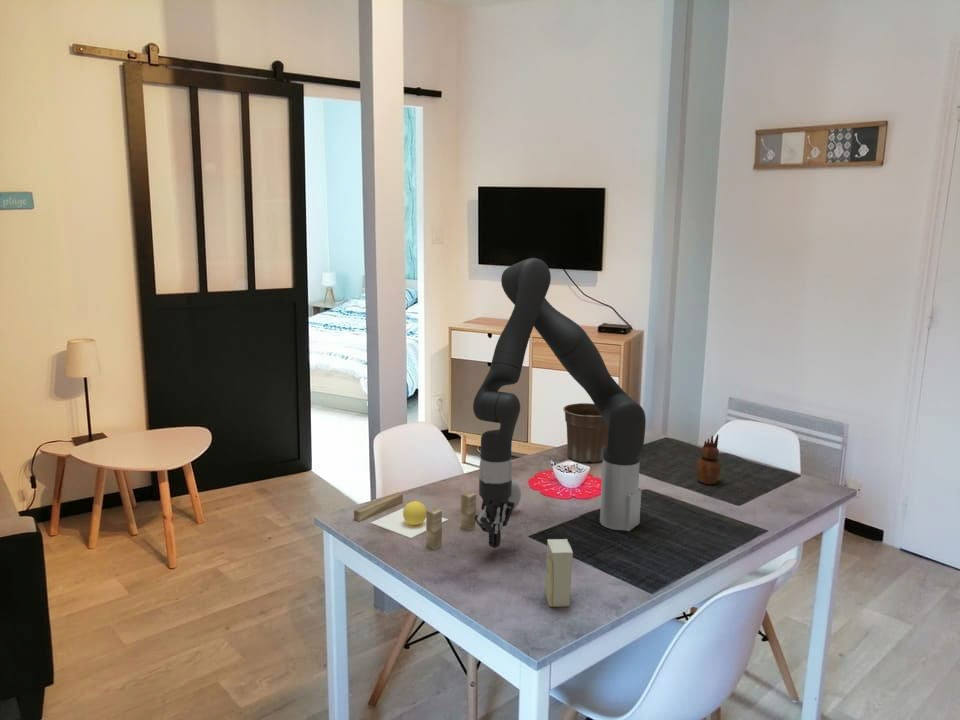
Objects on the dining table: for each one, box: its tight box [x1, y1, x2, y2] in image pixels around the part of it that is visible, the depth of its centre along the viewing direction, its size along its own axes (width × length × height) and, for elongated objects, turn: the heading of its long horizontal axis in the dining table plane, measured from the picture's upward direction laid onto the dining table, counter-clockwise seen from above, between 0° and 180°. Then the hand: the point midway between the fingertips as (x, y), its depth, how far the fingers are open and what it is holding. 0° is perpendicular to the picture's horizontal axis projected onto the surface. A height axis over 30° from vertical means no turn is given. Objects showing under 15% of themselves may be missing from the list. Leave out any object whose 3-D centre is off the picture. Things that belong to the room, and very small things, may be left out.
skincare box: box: [544, 538, 574, 608], centre depth 154 cm, size 6×4×12 cm
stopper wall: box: [353, 492, 404, 523], centre depth 198 cm, size 2×16×2 cm, turn 142°
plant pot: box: [563, 402, 609, 464], centre depth 241 cm, size 16×16×16 cm
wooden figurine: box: [695, 434, 722, 485], centre depth 220 cm, size 7×6×15 cm
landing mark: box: [370, 507, 449, 539], centre depth 192 cm, size 14×14×1 cm
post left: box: [425, 507, 443, 550], centre depth 178 cm, size 3×3×9 cm
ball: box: [403, 500, 427, 525], centre depth 190 cm, size 6×6×6 cm
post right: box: [460, 491, 477, 532], centre depth 188 cm, size 3×3×9 cm
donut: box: [509, 479, 522, 512], centre depth 196 cm, size 10×4×10 cm, turn 122°
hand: (494, 546), depth 176 cm, fingers closed
